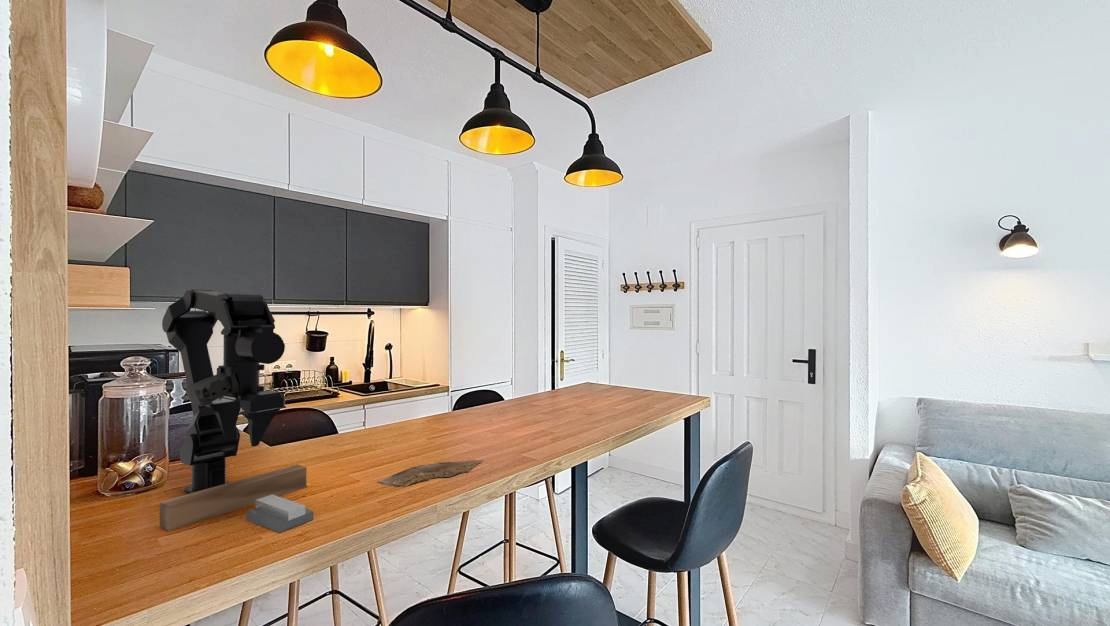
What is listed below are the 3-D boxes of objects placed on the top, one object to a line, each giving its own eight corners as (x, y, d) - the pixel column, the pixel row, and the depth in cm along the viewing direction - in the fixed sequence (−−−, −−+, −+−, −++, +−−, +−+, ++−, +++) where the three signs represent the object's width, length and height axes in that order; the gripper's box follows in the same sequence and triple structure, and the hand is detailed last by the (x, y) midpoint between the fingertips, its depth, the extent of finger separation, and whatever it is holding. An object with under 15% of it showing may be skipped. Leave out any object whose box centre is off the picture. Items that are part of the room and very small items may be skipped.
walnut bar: (159, 528, 83) (159, 501, 83) (296, 485, 104) (296, 464, 104) (168, 533, 81) (168, 506, 81) (306, 488, 102) (306, 467, 102)
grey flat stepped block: (246, 519, 86) (246, 502, 86) (280, 507, 91) (280, 491, 91) (279, 532, 81) (279, 514, 81) (313, 519, 86) (313, 502, 86)
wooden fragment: (385, 492, 100) (385, 487, 100) (370, 477, 109) (370, 473, 109) (496, 469, 115) (496, 464, 115) (475, 458, 124) (475, 453, 124)
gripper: (167, 360, 90) (167, 444, 90) (221, 368, 81) (220, 462, 81) (232, 355, 100) (231, 431, 100) (287, 361, 90) (286, 446, 91)
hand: (241, 442), depth 92 cm, fingers open, 9 cm apart
